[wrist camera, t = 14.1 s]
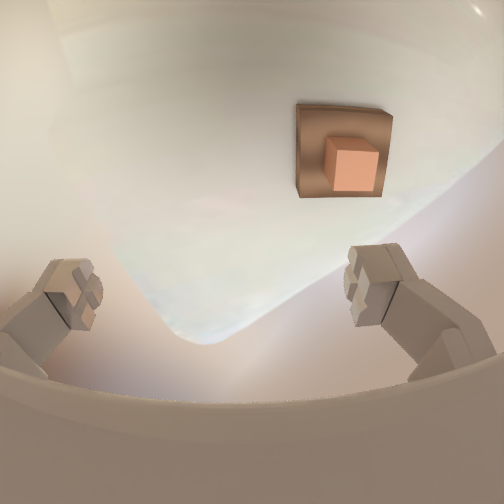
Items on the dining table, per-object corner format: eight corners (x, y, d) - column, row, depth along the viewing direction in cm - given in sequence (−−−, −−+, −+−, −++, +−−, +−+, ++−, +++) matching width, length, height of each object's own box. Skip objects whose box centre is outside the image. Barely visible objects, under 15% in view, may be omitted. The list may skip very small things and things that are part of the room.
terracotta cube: (326, 136, 32) (337, 150, 29) (363, 138, 32) (379, 152, 28) (323, 172, 36) (333, 190, 32) (359, 173, 36) (372, 191, 32)
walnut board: (295, 104, 34) (301, 110, 30) (380, 109, 33) (393, 116, 30) (295, 184, 41) (299, 198, 38) (371, 184, 41) (381, 197, 38)
